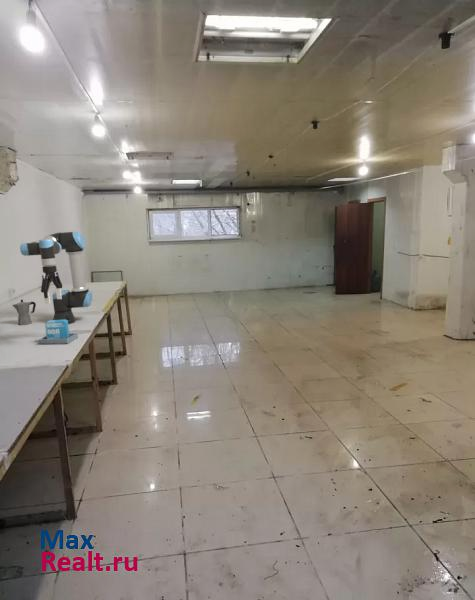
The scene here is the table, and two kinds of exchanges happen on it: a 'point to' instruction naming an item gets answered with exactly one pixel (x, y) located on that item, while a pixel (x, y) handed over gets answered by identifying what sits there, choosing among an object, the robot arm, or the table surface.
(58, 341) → the tray
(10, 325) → the table surface
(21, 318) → the coffeepot
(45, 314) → the table surface
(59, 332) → the data package
